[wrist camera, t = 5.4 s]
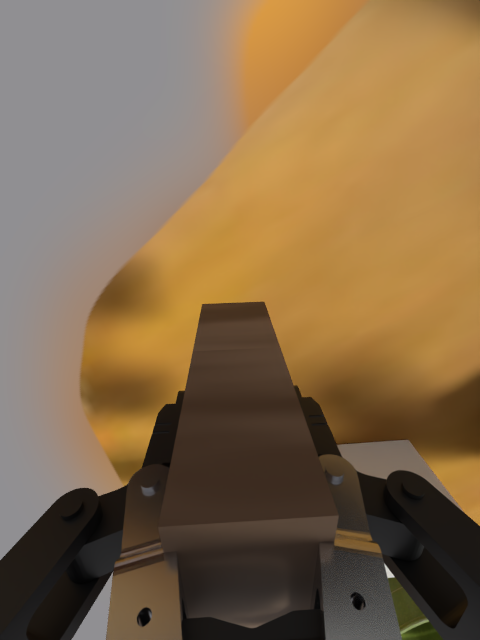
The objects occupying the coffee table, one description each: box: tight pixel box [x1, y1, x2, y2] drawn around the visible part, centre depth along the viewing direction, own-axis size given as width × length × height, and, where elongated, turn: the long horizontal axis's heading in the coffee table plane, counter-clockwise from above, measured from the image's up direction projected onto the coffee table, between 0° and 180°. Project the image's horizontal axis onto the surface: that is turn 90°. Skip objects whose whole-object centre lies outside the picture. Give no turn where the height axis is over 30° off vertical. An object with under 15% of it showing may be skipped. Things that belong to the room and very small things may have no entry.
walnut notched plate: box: [158, 302, 339, 628], centre depth 14 cm, size 14×4×12 cm, turn 1°
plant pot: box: [388, 577, 443, 640], centre depth 31 cm, size 12×12×11 cm
